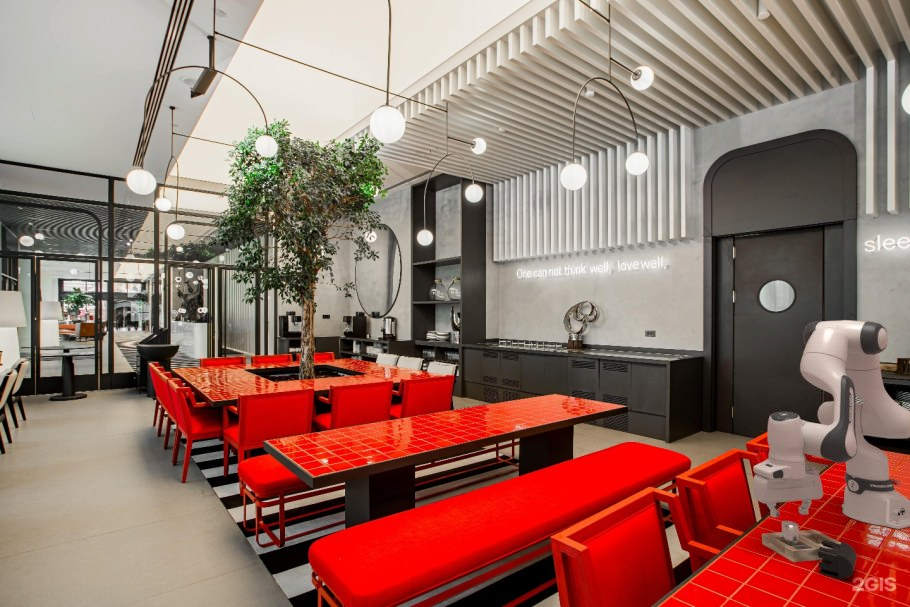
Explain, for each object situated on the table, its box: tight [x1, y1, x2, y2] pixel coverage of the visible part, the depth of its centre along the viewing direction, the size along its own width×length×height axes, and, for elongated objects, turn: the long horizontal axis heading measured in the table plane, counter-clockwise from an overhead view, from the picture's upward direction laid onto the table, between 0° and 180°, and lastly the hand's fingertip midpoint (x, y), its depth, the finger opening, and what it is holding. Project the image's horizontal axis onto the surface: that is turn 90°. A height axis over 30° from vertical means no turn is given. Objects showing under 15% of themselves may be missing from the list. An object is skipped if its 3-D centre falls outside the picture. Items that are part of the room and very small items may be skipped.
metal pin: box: [781, 520, 800, 546], centre depth 136 cm, size 4×4×8 cm
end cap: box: [818, 540, 858, 580], centre depth 125 cm, size 10×7×7 cm
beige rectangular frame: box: [761, 529, 841, 563], centre depth 137 cm, size 18×11×3 cm, turn 98°
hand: (789, 515), depth 137 cm, fingers open, 8 cm apart
